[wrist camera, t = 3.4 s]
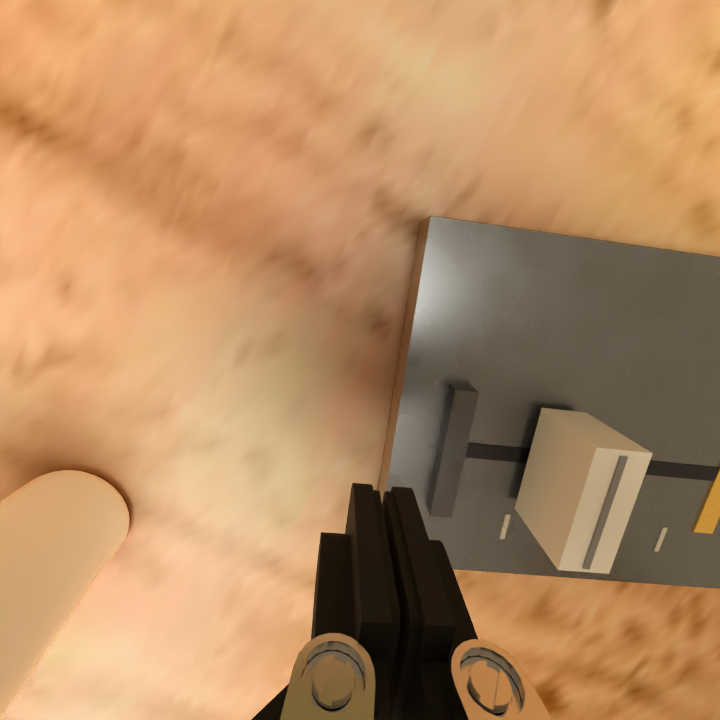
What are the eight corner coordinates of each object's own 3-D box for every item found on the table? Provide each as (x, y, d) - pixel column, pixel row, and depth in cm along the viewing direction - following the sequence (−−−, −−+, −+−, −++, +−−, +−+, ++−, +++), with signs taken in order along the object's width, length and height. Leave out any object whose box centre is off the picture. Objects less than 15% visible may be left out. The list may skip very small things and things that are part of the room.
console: (911, 291, 17) (1037, 297, 14) (774, 565, 21) (849, 617, 18) (420, 221, 16) (439, 211, 12) (370, 533, 20) (375, 585, 16)
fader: (585, 412, 16) (654, 454, 12) (555, 511, 17) (610, 575, 13) (541, 407, 15) (598, 448, 12) (514, 508, 17) (558, 571, 13)
